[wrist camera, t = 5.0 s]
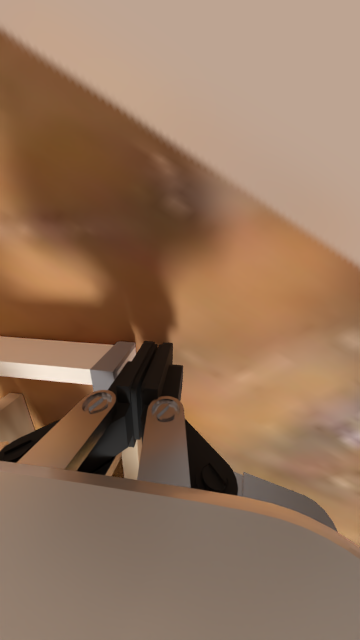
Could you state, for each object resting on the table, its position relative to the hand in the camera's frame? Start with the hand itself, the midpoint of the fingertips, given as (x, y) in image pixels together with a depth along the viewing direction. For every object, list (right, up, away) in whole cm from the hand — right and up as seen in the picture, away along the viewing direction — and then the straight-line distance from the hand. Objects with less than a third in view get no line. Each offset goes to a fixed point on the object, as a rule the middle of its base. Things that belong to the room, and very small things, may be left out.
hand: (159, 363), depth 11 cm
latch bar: (-7, +1, +2) cm, 7 cm away
